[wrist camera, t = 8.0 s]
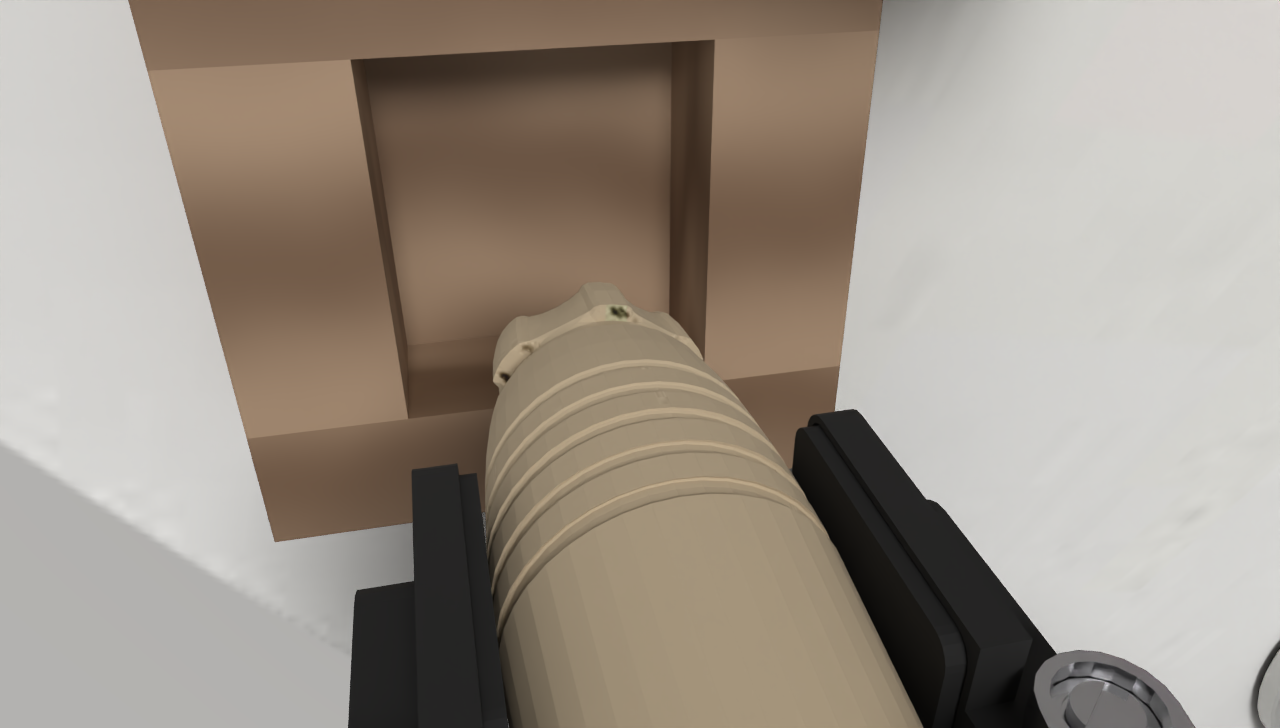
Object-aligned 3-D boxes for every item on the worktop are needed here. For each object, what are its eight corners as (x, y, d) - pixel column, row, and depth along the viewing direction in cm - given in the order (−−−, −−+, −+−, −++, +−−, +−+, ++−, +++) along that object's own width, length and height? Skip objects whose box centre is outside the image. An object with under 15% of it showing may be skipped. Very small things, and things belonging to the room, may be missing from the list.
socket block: (771, 376, 29) (828, 462, 25) (293, 435, 26) (274, 542, 22) (811, -145, 21) (898, -135, 18) (157, -133, 19) (96, -119, 15)
